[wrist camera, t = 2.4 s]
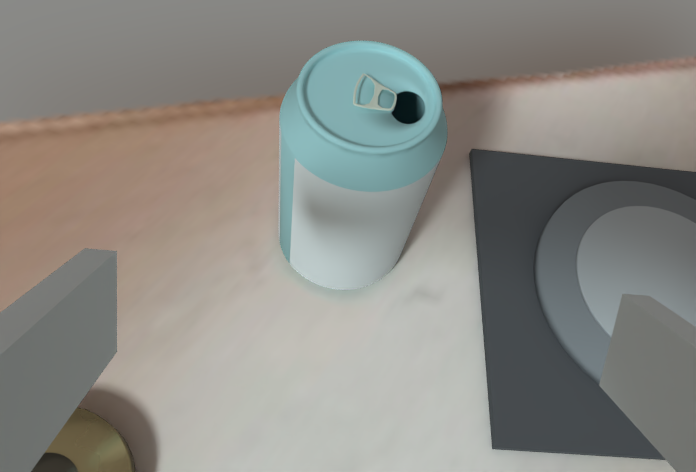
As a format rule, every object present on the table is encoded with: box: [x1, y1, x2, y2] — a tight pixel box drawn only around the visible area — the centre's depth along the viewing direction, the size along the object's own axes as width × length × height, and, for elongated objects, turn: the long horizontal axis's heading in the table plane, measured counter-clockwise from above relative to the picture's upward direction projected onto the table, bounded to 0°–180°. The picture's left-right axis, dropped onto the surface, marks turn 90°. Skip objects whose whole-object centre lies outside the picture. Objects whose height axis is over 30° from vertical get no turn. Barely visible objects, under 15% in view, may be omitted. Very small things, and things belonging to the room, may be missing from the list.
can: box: [278, 41, 447, 290], centre depth 27 cm, size 7×7×12 cm
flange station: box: [469, 149, 696, 460], centre depth 32 cm, size 20×18×2 cm
